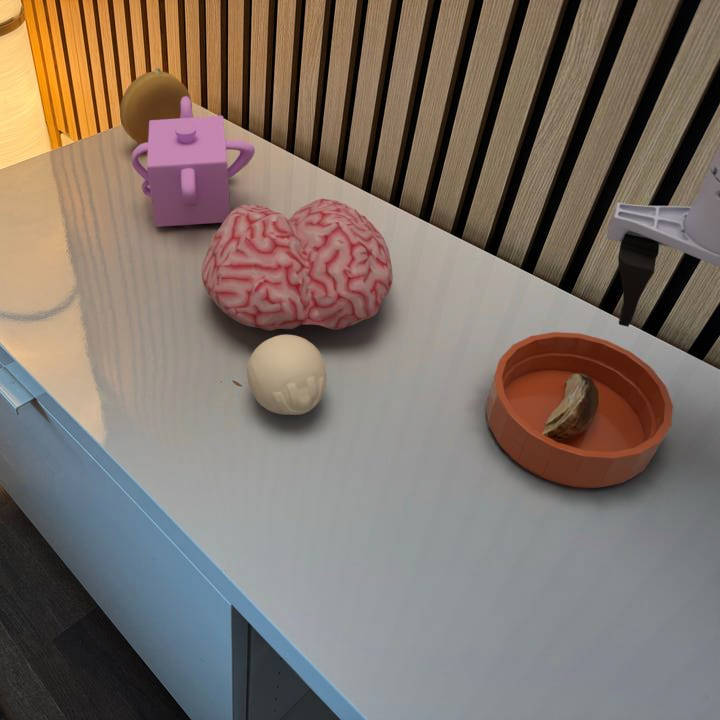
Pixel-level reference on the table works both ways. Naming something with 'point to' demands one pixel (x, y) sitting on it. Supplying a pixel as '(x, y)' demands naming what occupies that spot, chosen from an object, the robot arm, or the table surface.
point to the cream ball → (287, 375)
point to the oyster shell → (573, 409)
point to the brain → (298, 267)
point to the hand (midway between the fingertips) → (678, 330)
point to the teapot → (189, 168)
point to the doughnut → (151, 102)
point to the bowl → (612, 419)
